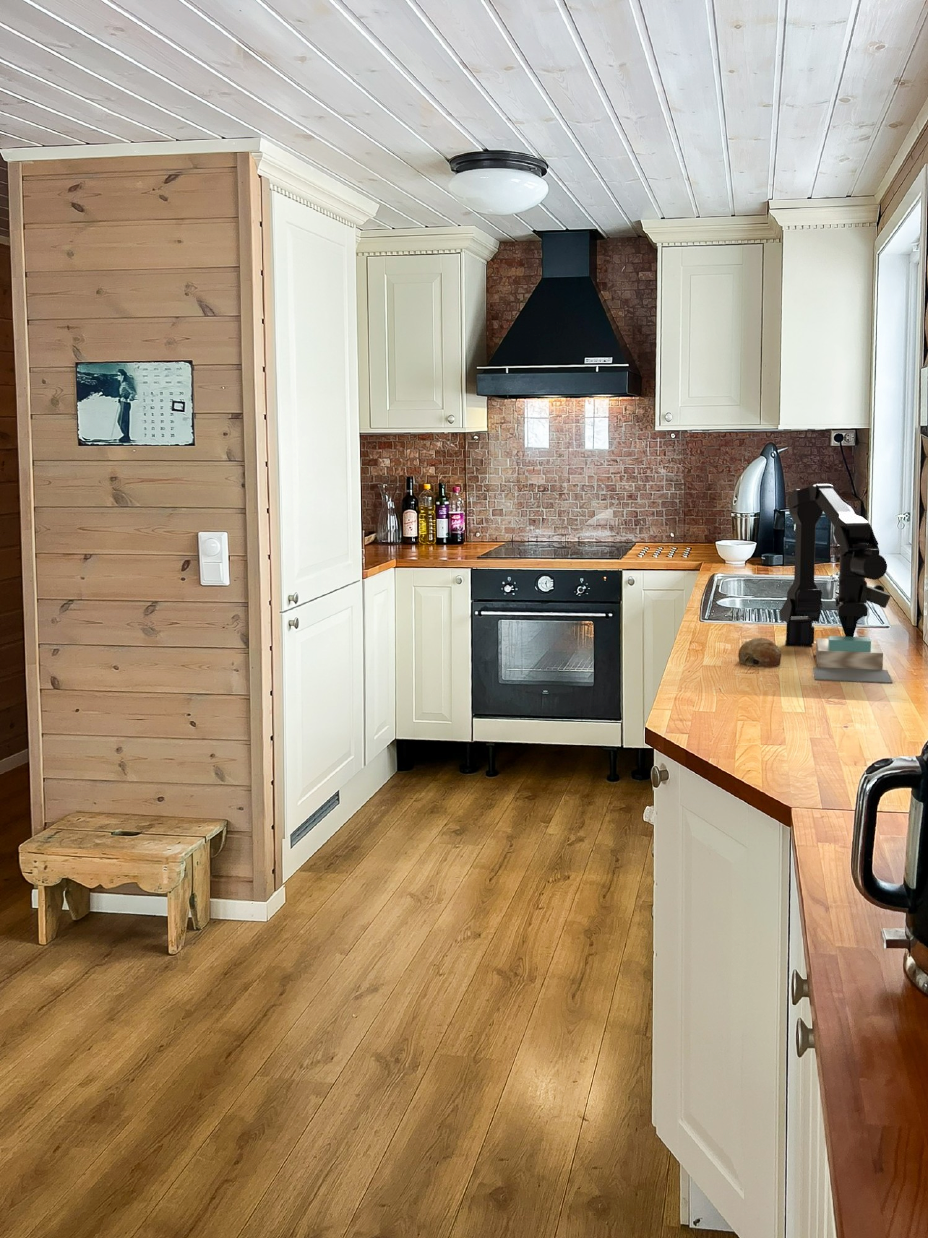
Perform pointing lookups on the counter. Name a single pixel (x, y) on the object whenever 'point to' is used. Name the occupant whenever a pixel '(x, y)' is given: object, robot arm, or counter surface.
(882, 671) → the mat
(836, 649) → the teal rectangular block
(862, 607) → the robot arm
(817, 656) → the board
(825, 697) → the counter surface
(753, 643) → the brown rounded dome
